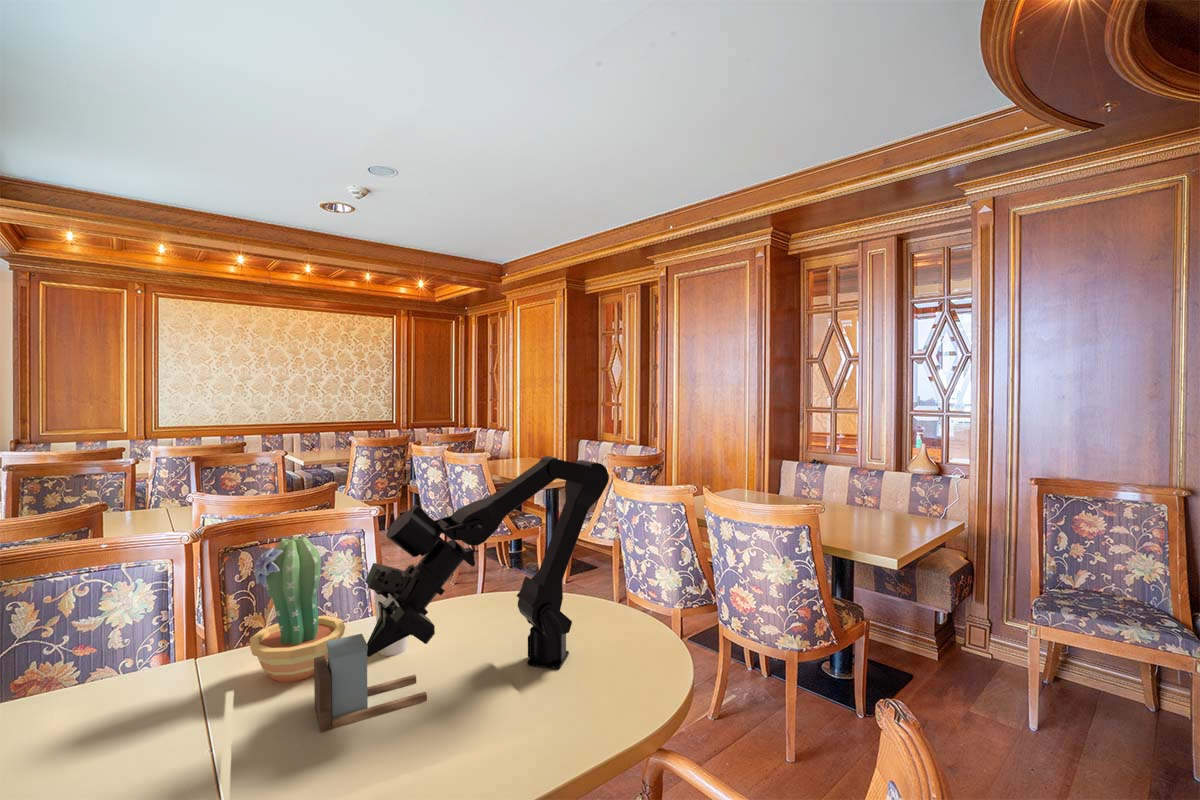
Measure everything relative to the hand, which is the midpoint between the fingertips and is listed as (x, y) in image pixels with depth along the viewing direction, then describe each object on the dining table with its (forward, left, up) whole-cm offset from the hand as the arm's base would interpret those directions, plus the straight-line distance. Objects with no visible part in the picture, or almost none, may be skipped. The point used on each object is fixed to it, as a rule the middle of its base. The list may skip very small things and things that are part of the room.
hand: (365, 654), depth 89 cm
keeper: (+2, +2, -8) cm, 9 cm away
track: (0, 0, -9) cm, 9 cm away
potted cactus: (+19, -7, -10) cm, 23 cm away
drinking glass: (+7, -18, -10) cm, 22 cm away
